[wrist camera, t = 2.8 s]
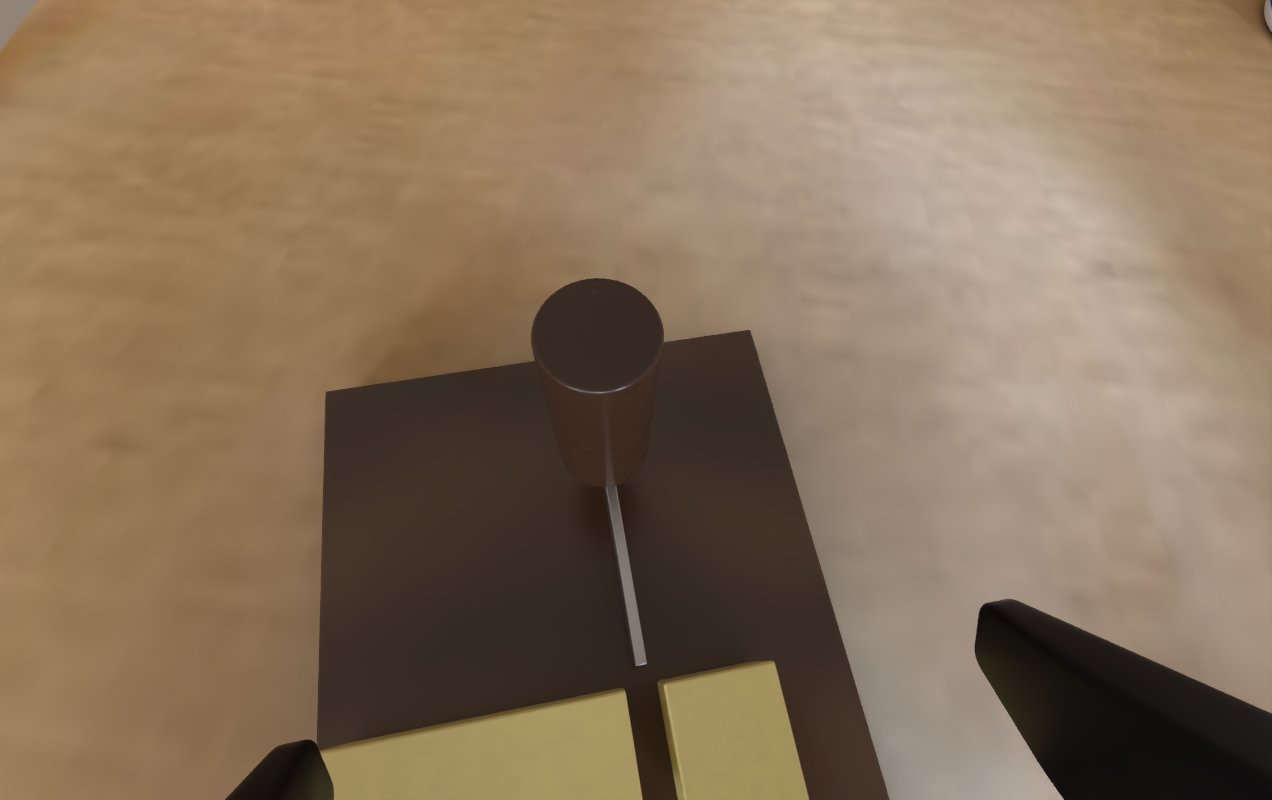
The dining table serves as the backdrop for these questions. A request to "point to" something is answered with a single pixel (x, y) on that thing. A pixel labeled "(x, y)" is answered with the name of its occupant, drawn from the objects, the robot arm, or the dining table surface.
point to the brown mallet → (602, 398)
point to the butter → (499, 756)
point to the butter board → (573, 563)
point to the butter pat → (731, 735)
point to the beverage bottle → (1268, 13)
